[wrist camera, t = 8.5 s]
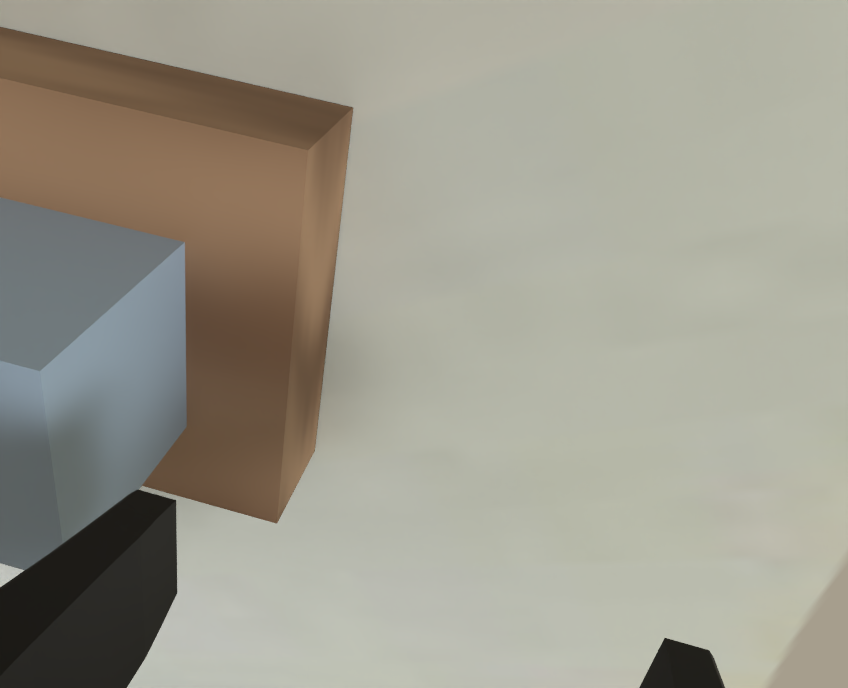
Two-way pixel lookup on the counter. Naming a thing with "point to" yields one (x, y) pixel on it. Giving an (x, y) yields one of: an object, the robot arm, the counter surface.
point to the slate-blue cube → (83, 370)
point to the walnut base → (200, 237)
